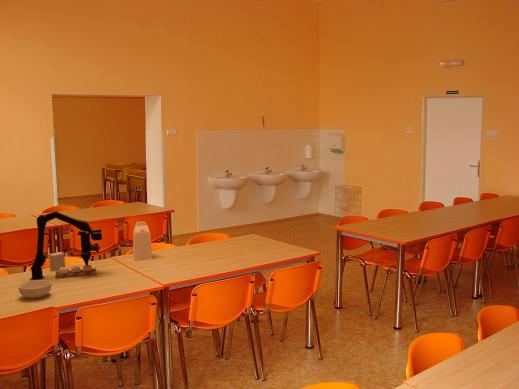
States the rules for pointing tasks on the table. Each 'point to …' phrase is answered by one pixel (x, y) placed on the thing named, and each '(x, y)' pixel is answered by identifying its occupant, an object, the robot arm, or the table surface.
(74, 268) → the tile two pip
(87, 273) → the tile tray
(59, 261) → the small box
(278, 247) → the table surface
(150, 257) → the milk
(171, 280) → the table surface
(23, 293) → the cereal bowl
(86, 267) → the tile three pip
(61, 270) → the tile one pip
